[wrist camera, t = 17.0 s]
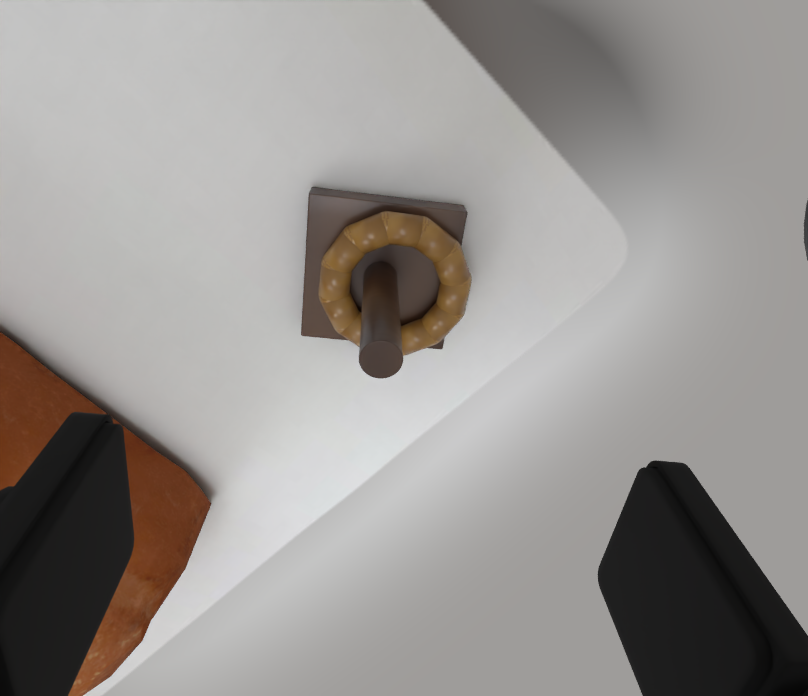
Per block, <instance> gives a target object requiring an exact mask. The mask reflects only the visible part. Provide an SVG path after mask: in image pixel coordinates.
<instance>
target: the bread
mask: <svg viewBox="0 0 808 696" xmlns="http://www.w3.org/2000/svg"><path fill="white" fill-rule="evenodd" d="M73 412H84V413H96V414H107V413H105V412H104V411H103V410H101V409H100V408H99V407H98V406H96V405H95V404H94V403H92V402H91V401H90V400H88V399H87V398H86V397H84V396H83V395H82V394H80V393H79V392H78V391H76V390H75V389H74V388H72V387H71V386H70V385H68V384H67V383H66V382H64V381H63V380H62V379H61V378H59V377H58V376H57V375H55V374H54V373H53V372H51V371H50V370H49V369H47V368H46V367H45V366H44V365H42V364H41V363H40V362H39V361H37V360H36V359H35V358H34V357H32V356H31V355H30V354H29V353H28V352H26V351H25V350H24V349H23V348H21V347H20V346H19V345H18V344H16V343H15V342H13V341H12V340H11V339H9V338H8V337H6V336H5V335H4V334H2V333H1V332H0V491H1V490H2V489H4V488H6V487H8V486H15V485H16V483H17V482H18V481H19V479H20V478H21V477H22V476H23V474H24V473H25V472H26V470H27V469H28V468H29V467H30V465H31V464H32V463H33V461H34V460H35V459H36V457H37V456H38V455H39V454H40V452H41V451H42V450H43V448H44V447H45V446H46V445H47V443H48V442H49V441H50V439H51V438H52V437H53V435H54V434H55V433H56V432H57V430H58V429H59V428H60V426H61V425H62V424H63V423H64V421H65V420H66V419H67V417H68V416H69V415H70V414H71V413H73ZM112 419H113V418H112ZM113 424H120V423H119V422H117V421H116V420H115V419H113ZM122 427H123V431H124V440H125V450H126V460H127V470H128V479H129V489H130V499H131V509H132V518H133V528H134V547H133V551H132V555H131V558H130V560H129V563H128V565H127V567H126V569H125V571H124V574H123V576H122V578H121V580H120V582H119V585H118V587H117V589H116V591H115V593H114V596H113V598H112V600H111V602H110V604H109V607H108V609H107V611H106V613H105V615H104V618H103V620H102V622H101V624H100V626H99V629H98V631H97V633H96V635H95V638H94V640H93V642H92V644H91V646H90V649H89V651H88V653H87V655H86V657H85V660H84V662H83V664H82V666H81V668H80V671H79V673H78V675H77V677H76V679H75V682H74V684H73V686H72V688H71V690H70V693H69V695H68V696H83V695H84V694H86V693H87V692H89V691H90V690H91V689H93V688H94V687H96V686H97V685H99V684H100V683H102V682H103V681H105V680H106V679H108V678H109V677H110V676H111V675H112V674H113V673H114V672H115V671H116V670H117V668H118V667H119V666H120V665H121V664H122V663H123V662H124V661H125V659H126V658H127V657H128V656H129V655H130V654H131V653H132V652H133V650H134V649H135V648H136V647H137V646H138V645H139V644H140V643H141V641H142V640H143V638H144V636H145V633H146V631H147V629H148V626H149V624H150V622H151V619H152V618H153V617H154V615H155V614H156V612H157V611H158V609H159V608H160V606H161V605H162V603H163V602H164V600H165V599H166V597H167V596H168V594H169V593H170V591H171V590H172V588H173V587H174V585H175V584H176V582H177V581H178V579H179V577H180V576H181V574H182V573H183V571H184V570H185V568H186V565H187V563H188V560H189V558H190V556H191V553H192V551H193V548H194V546H195V543H196V541H197V538H198V536H199V533H200V531H201V528H202V526H203V523H204V521H205V518H206V516H207V513H208V511H209V508H210V506H211V503H210V501H209V500H208V498H207V497H206V495H205V494H204V492H203V491H202V490H201V488H200V487H199V486H198V485H197V484H196V482H195V481H194V480H193V479H192V478H191V477H190V475H189V474H188V473H187V472H186V471H185V470H183V469H182V468H180V467H179V466H177V465H176V464H175V463H173V462H172V461H170V460H169V459H167V458H166V457H164V456H163V455H161V454H160V453H158V452H157V451H156V450H154V449H153V448H152V447H150V446H149V445H148V444H146V443H145V442H144V441H142V440H141V439H140V438H138V437H137V436H136V435H134V434H133V433H132V432H131V431H129V430H128V429H127V428H125V427H124V426H123V425H122Z"/></svg>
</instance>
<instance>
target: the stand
mask: <svg viewBox="0 0 808 696" xmlns="http://www.w3.org/2000/svg"><path fill="white" fill-rule="evenodd" d="M384 211H391V212H398V213H406V214H413V215H421V216H425V217H428V218H429V219H431V220H432V221H433V222H434V223H436V224H437V225H438V226H440V227H441V228H442V229H443V230H445V231H446V232H447V233H449V234H450V235H451V236H452V237H454V238H455V239H456V240H457V241H458V242H459V244H460V246H461V245H462V239H463V234H464V228H465V223H466V217H467V211H466V209H465V207H464V206H463V205H456V204H448V203H439V202H431V201H423V200H414V199H406V198H398V197H390V196H381V195H373V194H365V193H356V192H348V191H340V190H331V189H323V188H315V187H312V188H311V190H310V193H309V202H308V220H307V238H306V256H305V274H304V292H303V311H302V329H301V335H302V336H310V337H320V338H330V339H341V340H348V339H346V338H345V337H343V336H342V335H340V334H339V333H337V332H336V331H335V329H334V328H333V326H332V324H331V322H330V320H329V318H328V316H327V314H326V312H325V310H324V308H323V306H322V304H321V302H320V300H319V282H320V270H321V261H322V258H323V256H324V255H325V253H326V252H327V251H328V249H329V248H330V247H331V245H332V244H333V243H334V242H335V240H336V239H337V238H338V236H339V235H340V234H341V232H342V231H343V230H344V229H345V228H346V227H347V226H349V225H351V224H353V223H356V222H358V221H360V220H363V219H365V218H368V217H370V216H373V215H375V214H378V213H380V212H384ZM439 285H440V279H439V277H438V274H437V272H436V269H435V267H434V264H433V262H432V261H431V260H430V259H428V258H427V257H426V256H424V255H423V254H422V253H420V252H419V251H418V250H416V249H415V248H414V247H406V246H398V245H391V244H389V245H386V246H383V247H381V248H378V249H376V250H373V251H371V252H368V253H366V254H365V255H364V257H363V258H362V259H361V260H360V262H359V263H358V264H357V265H356V267H355V268H354V269H353V271H352V275H351V284H350V294H351V296H352V298H353V300H354V302H355V304H356V306H357V308H358V311H359V312H361V313H362V314H361V331H360V349H359V363H360V366H361V368H362V369H363V371H364V372H365V373H366V374H368V375H370V376H372V377H375V378H387V377H390V376H392V375H394V374H395V373H397V372H398V371H399V369H400V368H401V366H402V363H403V351H402V337H401V326H402V325H405V324H408V323H410V322H413V321H416V320H418V319H421V318H423V316H424V315H425V314H426V313H427V312H428V311H429V310H430V308H431V307H432V306H433V305H434V304H435V303H436V301H437V296H438V291H439ZM444 338H445V337H444ZM444 338H443V339H442V340H441V341H440V342H439V343H437V344H435V345H433V346H430V347H427V348H433V349H442V348H443V343H444Z"/></svg>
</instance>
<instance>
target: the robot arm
mask: <svg viewBox="0 0 808 696" xmlns="http://www.w3.org/2000/svg"><path fill="white" fill-rule="evenodd" d="M133 547H134V528H133V518H132V509H131V499H130V489H129V479H128V470H127V460H126V450H125V440H124V431H123V427H122V425H121V424H113V419H112V417H111V416H110V415H108V414H96V413H84V412H73V413H71V414H70V415H69V416H68V417H67V419H66V420H65V421H64V423H63V424H62V425H61V426H60V428H59V429H58V430H57V432H56V433H55V434H54V435H53V437H52V438H51V439H50V441H49V442H48V443H47V445H46V446H45V447H44V448H43V450H42V451H41V452H40V454H39V455H38V456H37V457H36V459H35V460H34V461H33V463H32V464H31V465H30V467H29V468H28V469H27V470H26V472H25V473H24V474H23V476H22V477H21V478H20V479H19V481H18V482H17V483H16V485H15V486H8V487H6V488H4V489H2V490H1V491H0V696H68V695H69V693H70V690H71V688H72V686H73V684H74V682H75V679H76V677H77V675H78V673H79V671H80V668H81V666H82V664H83V662H84V660H85V657H86V655H87V653H88V651H89V649H90V646H91V644H92V642H93V640H94V638H95V635H96V633H97V631H98V629H99V626H100V624H101V622H102V620H103V618H104V615H105V613H106V611H107V609H108V607H109V604H110V602H111V600H112V598H113V596H114V593H115V591H116V589H117V587H118V585H119V582H120V580H121V578H122V576H123V574H124V571H125V569H126V567H127V565H128V563H129V560H130V558H131V555H132V551H133ZM598 582H599V586H600V589H601V592H602V594H603V597H604V599H605V602H606V604H607V607H608V609H609V612H610V614H611V617H612V619H613V622H614V624H615V627H616V629H617V632H618V635H619V637H620V640H621V642H622V645H623V647H624V649H625V652H626V655H627V657H628V660H629V662H630V665H631V667H632V670H633V672H634V675H635V677H636V680H637V682H638V685H639V687H640V690H641V692H642V695H643V696H808V636H807V634H806V633H805V631H804V630H803V628H802V627H801V626H800V624H799V623H798V621H797V620H796V619H795V617H794V616H793V614H792V613H791V611H790V610H789V609H788V607H787V606H786V604H785V603H784V602H783V600H782V599H781V598H780V596H779V594H778V593H777V592H776V590H775V589H774V587H773V586H772V585H771V583H770V582H769V580H768V579H767V577H766V576H765V575H764V573H763V572H762V570H761V569H760V567H759V566H758V565H757V563H756V562H755V560H754V559H753V558H752V556H751V555H750V554H749V552H748V551H747V549H746V548H745V546H744V545H743V544H742V542H741V541H740V539H739V538H738V536H737V535H736V533H735V532H734V531H733V529H732V528H731V526H730V525H729V523H728V522H727V521H726V519H725V518H724V516H723V515H722V514H721V512H720V511H719V509H718V508H717V506H716V505H715V504H714V502H713V501H712V499H711V498H710V497H709V495H708V494H707V492H706V491H705V489H704V488H703V487H702V485H701V484H700V482H699V481H698V480H697V478H696V477H695V475H694V474H693V472H692V471H691V470H690V468H689V467H688V466H687V465H686V464H683V463H677V462H666V461H652V462H650V463H649V464H648V466H647V467H646V468H641V469H640V470H639V471H638V473H637V476H636V478H635V480H634V483H633V485H632V488H631V490H630V493H629V495H628V497H627V500H626V503H625V505H624V507H623V510H622V512H621V514H620V517H619V519H618V522H617V524H616V527H615V529H614V531H613V534H612V536H611V539H610V541H609V544H608V546H607V548H606V551H605V553H604V556H603V558H602V561H601V563H600V566H599V570H598Z"/></svg>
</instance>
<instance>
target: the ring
mask: <svg viewBox="0 0 808 696" xmlns="http://www.w3.org/2000/svg"><path fill="white" fill-rule="evenodd" d="M389 244H391V245H398V246H406V247H414V248H415V249H416V250H418V251H419V252H420V253H422V254H423V255H424V256H426V257H427V258H428V259H430V260H431V261H432V262H433V264H434V267H435V269H436V272H437V274H438V277H439V279H440V285H439V291H438V296H437V301H436V303H435V304H434V305H433V306H432V307H431V308H430V310H429V311H428V312H427V313H426V314H425V315H424V316H423V318H421V319H418V320H416V321H413V322H410V323H408V324H405V325H402V326H401V337H402V351H403V356H404V355H408V354H411V353H413V352H416V351H419V350H422V349H424V348H427V347H430V346H433V345H435V344H437V343H439V342H440V341H441V340H442V339H443V338H444V337H445V336H446V335H447V334H448V333H449V332H450V331H451V330H452V328H453V327H454V326H455V325H456V324H457V323H458V322H459V321H460V320H461V319H462V317H463V316H464V313H465V310H466V305H467V300H468V296H469V291H470V286H471V281H472V278H471V274H470V271H469V268H468V265H467V263H466V260H465V257H464V254H463V252H462V249H461V246H460V244H459V242H458V241H457V240H456V239H455V238H454V237H452V236H451V235H450V234H449V233H447V232H446V231H445V230H443V229H442V228H441V227H440V226H438V225H437V224H436V223H434V222H433V221H432V220H431V219H429V218H428V217H425V216H421V215H413V214H406V213H398V212H391V211H384V212H380V213H378V214H375V215H373V216H370V217H368V218H365V219H363V220H360V221H358V222H356V223H353V224H351V225H349V226H347V227H346V228H345V229H344V230H343V231H342V232H341V234H340V235H339V236H338V238H337V239H336V240H335V242H334V243H333V244H332V245H331V247H330V248H329V249H328V251H327V252H326V253H325V255H324V256H323V258H322V261H321V270H320V282H319V300H320V302H321V304H322V306H323V308H324V310H325V312H326V314H327V316H328V318H329V320H330V322H331V324H332V326H333V328H334V329H335V331H336V332H337V333H339V334H340V335H342V336H343V337H345V338H346V339H348V340H349V341H351V342H352V343H354V344H356V345H357V346H359V347H360V331H361V314H362V313H361V312H359V311H358V308H357V306H356V304H355V302H354V300H353V298H352V296H351V294H350V284H351V275H352V271H353V269H354V268H355V267H356V265H357V264H358V263H359V262H360V260H361V259H362V258H363V257H364V255H365V254H366V253H368V252H371V251H373V250H376V249H378V248H381V247H383V246H386V245H389Z"/></svg>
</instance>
